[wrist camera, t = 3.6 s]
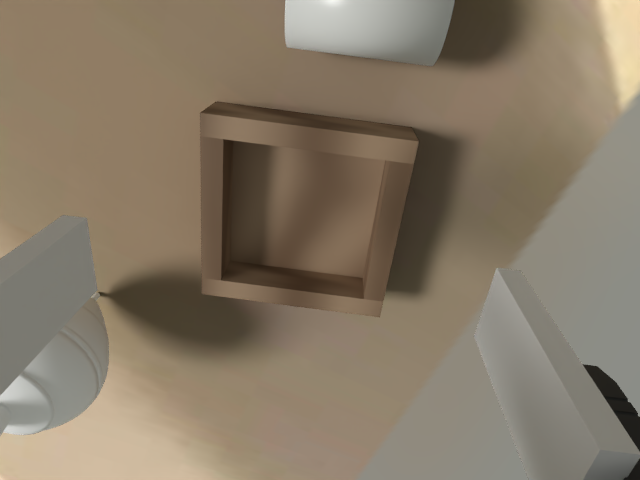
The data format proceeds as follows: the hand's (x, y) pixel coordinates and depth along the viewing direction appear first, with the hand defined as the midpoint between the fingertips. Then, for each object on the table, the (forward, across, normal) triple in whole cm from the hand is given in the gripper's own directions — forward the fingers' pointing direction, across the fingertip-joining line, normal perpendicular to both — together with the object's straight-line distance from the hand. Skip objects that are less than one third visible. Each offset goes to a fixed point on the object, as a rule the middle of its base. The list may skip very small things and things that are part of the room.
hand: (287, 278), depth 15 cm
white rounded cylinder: (+13, +2, +7) cm, 15 cm away
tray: (+14, 0, -3) cm, 14 cm away
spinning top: (+14, -15, -12) cm, 23 cm away
